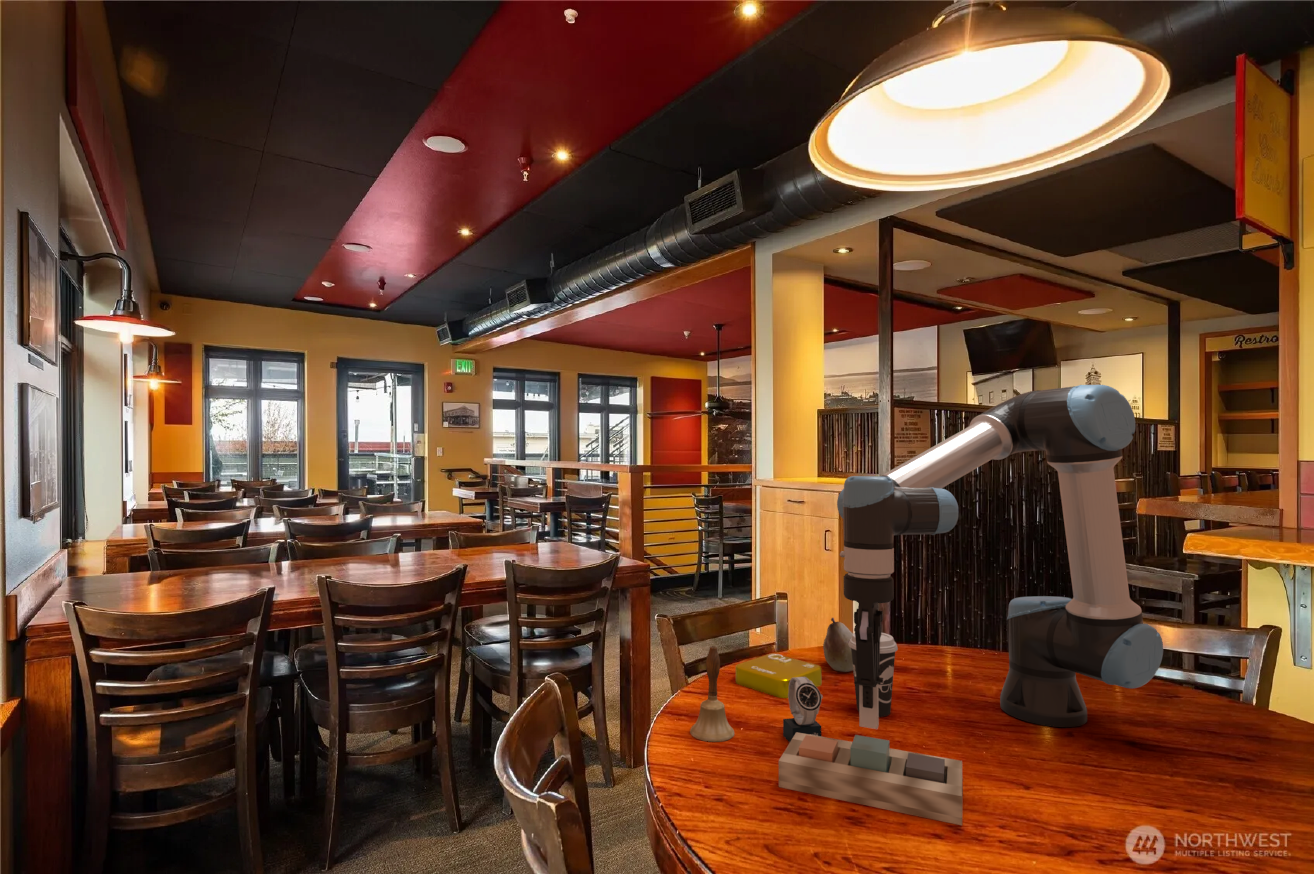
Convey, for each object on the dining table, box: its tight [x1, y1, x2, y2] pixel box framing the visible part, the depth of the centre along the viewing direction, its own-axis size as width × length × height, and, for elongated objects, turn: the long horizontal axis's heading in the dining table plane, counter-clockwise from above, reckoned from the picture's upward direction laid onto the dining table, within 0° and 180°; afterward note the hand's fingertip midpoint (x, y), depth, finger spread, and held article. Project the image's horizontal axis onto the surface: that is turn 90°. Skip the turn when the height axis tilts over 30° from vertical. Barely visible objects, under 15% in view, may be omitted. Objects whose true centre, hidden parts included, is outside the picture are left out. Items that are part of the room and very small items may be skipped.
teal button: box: [850, 734, 891, 773], centre depth 104 cm, size 5×5×4 cm
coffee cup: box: [849, 632, 899, 718], centre depth 135 cm, size 10×10×15 cm
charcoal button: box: [906, 753, 945, 783], centre depth 100 cm, size 5×5×4 cm
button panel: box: [778, 732, 964, 826], centre depth 104 cm, size 26×12×4 cm, turn 65°
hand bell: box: [689, 645, 735, 743], centre depth 124 cm, size 8×8×16 cm
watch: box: [782, 677, 824, 744], centre depth 121 cm, size 6×8×11 cm
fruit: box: [822, 617, 854, 673], centre depth 162 cm, size 10×9×12 cm
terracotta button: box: [799, 735, 838, 763], centre depth 107 cm, size 5×5×4 cm
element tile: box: [735, 653, 823, 699], centre depth 152 cm, size 15×15×5 cm
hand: (869, 725), depth 104 cm, fingers closed
